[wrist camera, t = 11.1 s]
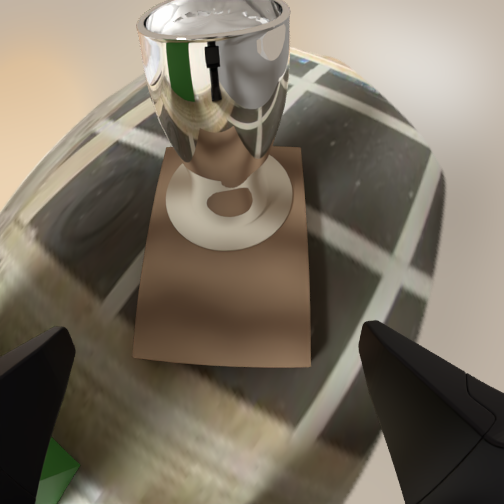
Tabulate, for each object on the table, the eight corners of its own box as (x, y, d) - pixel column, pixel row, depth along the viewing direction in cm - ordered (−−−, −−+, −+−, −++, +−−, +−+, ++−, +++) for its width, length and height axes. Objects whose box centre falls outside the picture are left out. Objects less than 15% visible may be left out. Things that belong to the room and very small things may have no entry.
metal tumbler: (280, 167, 24) (301, -8, 11) (266, 242, 22) (285, 46, 8) (199, 155, 25) (169, -10, 11) (174, 225, 22) (100, 48, 8)
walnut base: (305, 367, 20) (311, 366, 18) (141, 359, 21) (131, 357, 19) (298, 161, 27) (301, 146, 25) (170, 160, 27) (165, 145, 25)
